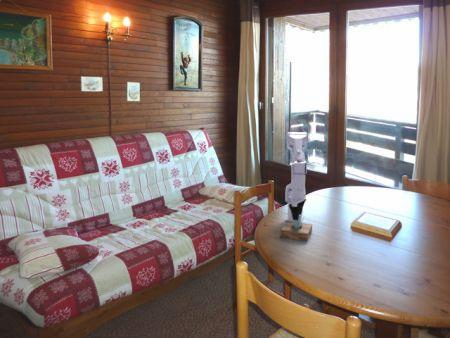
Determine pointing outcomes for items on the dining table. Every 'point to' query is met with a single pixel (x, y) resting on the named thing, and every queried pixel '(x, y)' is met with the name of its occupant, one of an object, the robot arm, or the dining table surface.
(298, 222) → the peg
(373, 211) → the dining table surface
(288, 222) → the socket block
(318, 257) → the dining table surface
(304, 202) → the robot arm
